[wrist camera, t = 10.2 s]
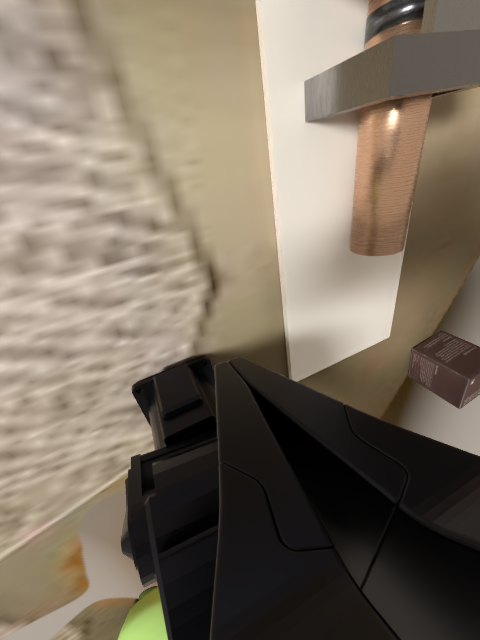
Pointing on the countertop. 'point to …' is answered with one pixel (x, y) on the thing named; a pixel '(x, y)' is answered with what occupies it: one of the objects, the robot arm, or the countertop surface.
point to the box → (447, 368)
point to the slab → (319, 189)
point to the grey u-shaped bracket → (404, 64)
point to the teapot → (145, 618)
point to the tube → (388, 145)
